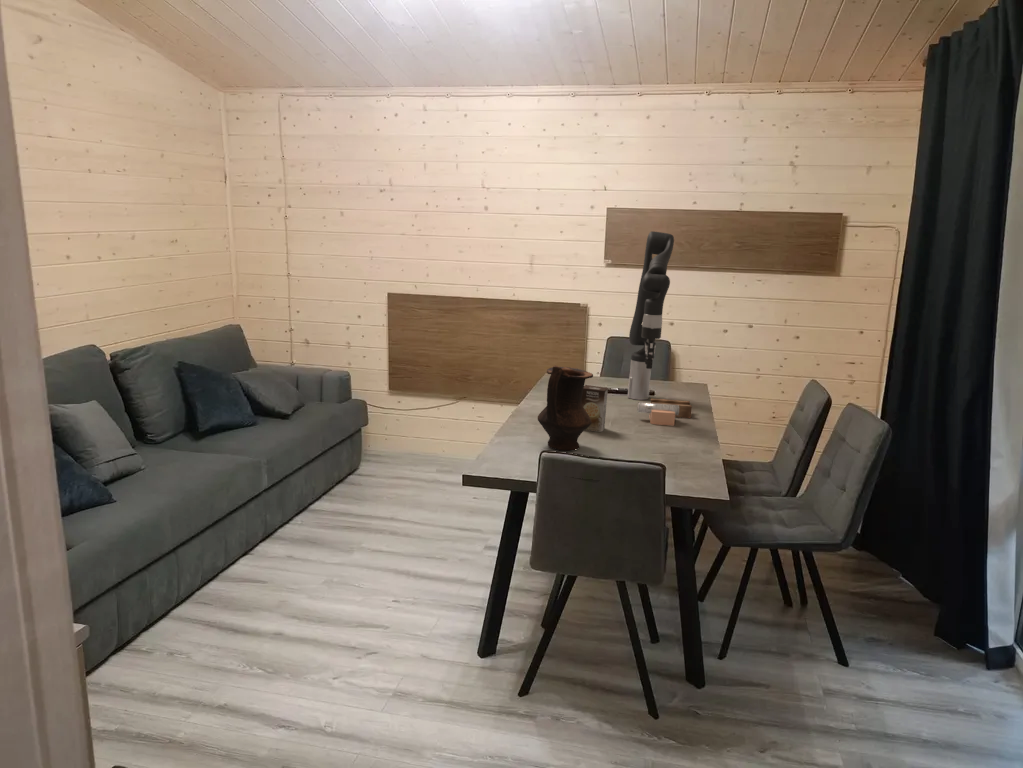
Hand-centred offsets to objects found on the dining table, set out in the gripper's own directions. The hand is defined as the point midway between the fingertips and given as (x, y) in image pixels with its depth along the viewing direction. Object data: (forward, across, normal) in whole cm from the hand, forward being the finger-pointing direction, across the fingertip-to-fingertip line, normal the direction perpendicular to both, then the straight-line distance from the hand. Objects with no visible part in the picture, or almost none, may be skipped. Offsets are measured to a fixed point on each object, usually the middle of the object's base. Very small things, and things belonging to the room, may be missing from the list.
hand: (648, 366), depth 287 cm
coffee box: (+22, +19, -20) cm, 36 cm away
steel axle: (+19, 0, +5) cm, 20 cm away
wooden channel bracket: (+22, -13, +12) cm, 28 cm away
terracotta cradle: (+22, 0, +7) cm, 23 cm away
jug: (+22, +46, -30) cm, 59 cm away
